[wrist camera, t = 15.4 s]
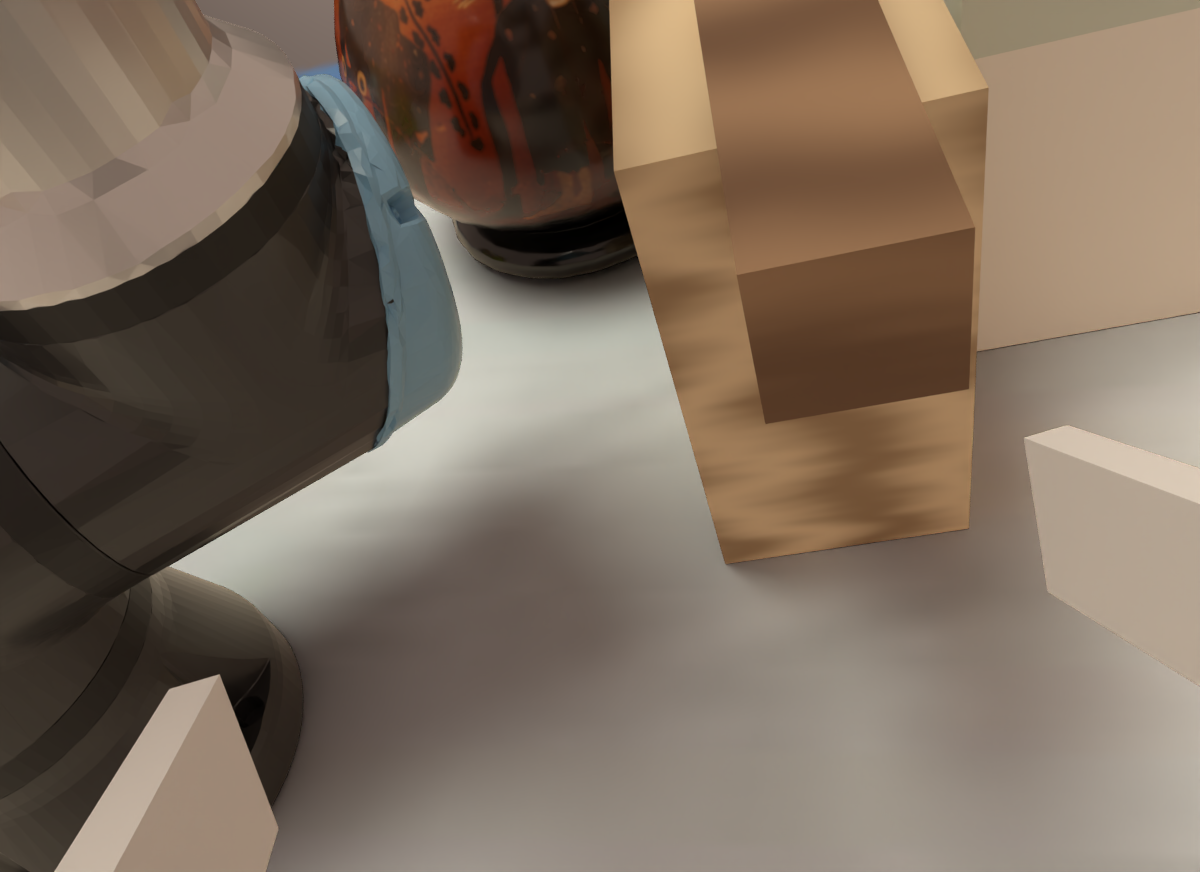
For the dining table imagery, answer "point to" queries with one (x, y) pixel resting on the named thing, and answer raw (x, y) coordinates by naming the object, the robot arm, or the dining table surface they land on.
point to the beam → (836, 207)
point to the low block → (716, 318)
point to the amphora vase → (498, 122)
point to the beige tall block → (1086, 163)
